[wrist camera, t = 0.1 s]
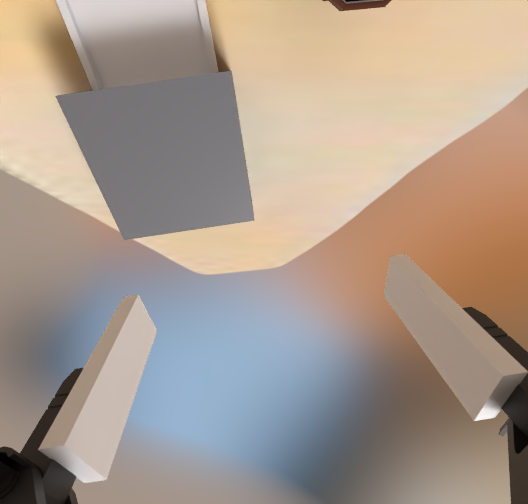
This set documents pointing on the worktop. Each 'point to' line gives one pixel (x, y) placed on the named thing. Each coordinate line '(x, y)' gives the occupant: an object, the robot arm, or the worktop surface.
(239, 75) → the worktop surface
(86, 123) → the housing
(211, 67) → the tray
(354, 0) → the ice cream bowl
